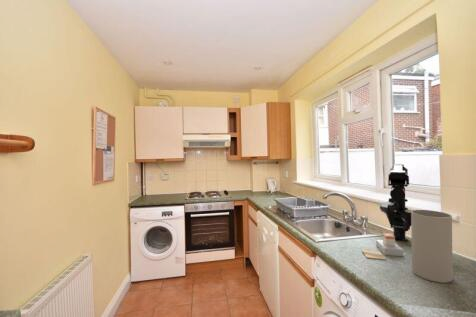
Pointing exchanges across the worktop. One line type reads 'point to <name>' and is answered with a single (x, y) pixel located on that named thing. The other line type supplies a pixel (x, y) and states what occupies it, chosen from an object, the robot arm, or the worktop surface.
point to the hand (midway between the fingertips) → (398, 228)
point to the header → (389, 249)
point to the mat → (373, 255)
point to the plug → (388, 239)
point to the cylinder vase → (432, 245)
